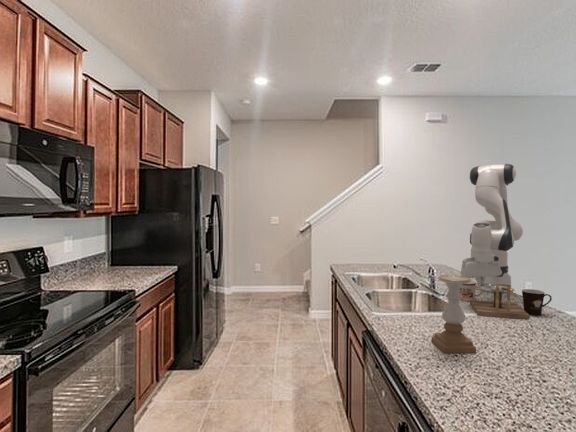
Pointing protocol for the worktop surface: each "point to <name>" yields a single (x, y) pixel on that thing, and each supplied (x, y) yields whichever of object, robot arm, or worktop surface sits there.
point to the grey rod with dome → (493, 287)
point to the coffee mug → (533, 301)
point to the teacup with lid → (469, 291)
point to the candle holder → (453, 319)
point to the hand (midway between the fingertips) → (480, 286)
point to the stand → (499, 306)
